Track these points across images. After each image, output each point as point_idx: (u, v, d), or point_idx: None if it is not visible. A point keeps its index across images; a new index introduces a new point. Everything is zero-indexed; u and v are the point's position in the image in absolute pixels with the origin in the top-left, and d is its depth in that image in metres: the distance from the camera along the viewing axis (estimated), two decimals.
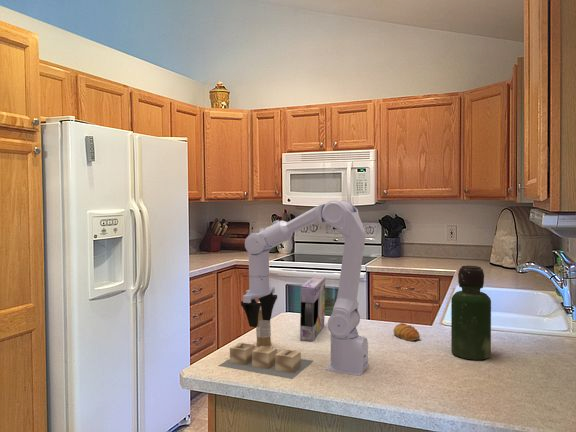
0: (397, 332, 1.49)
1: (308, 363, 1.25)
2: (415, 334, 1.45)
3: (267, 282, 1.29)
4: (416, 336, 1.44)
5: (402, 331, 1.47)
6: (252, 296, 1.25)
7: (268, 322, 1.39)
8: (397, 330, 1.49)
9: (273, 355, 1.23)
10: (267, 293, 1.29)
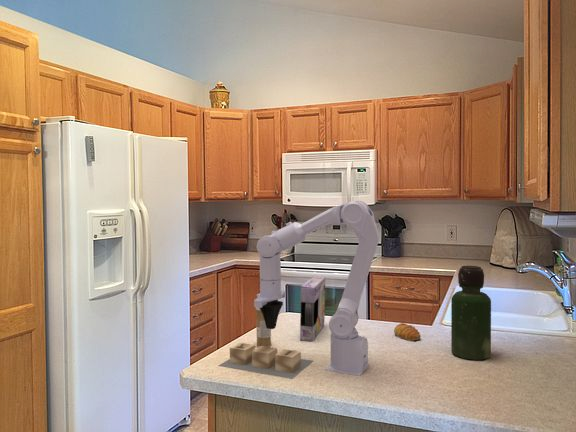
0: (398, 332, 1.49)
1: (308, 363, 1.25)
2: (416, 334, 1.45)
3: (279, 286, 1.25)
4: (417, 336, 1.45)
5: (403, 331, 1.47)
6: (263, 300, 1.21)
7: None
8: (398, 330, 1.49)
9: (273, 355, 1.23)
10: (278, 297, 1.25)
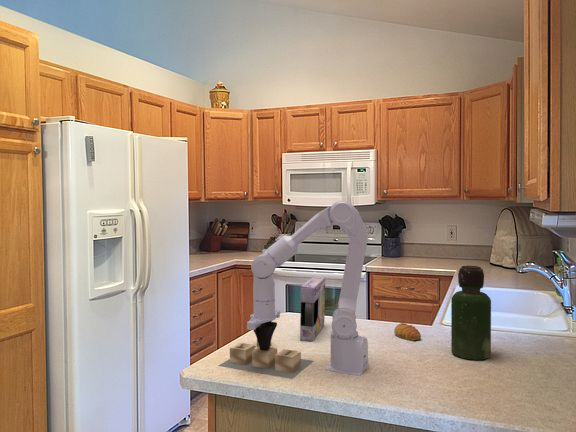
0: (398, 332, 1.49)
1: (308, 363, 1.25)
2: (416, 334, 1.45)
3: (272, 307, 1.22)
4: (417, 336, 1.45)
5: (403, 331, 1.48)
6: (257, 323, 1.18)
7: None
8: (398, 330, 1.49)
9: (273, 355, 1.23)
10: (272, 319, 1.22)
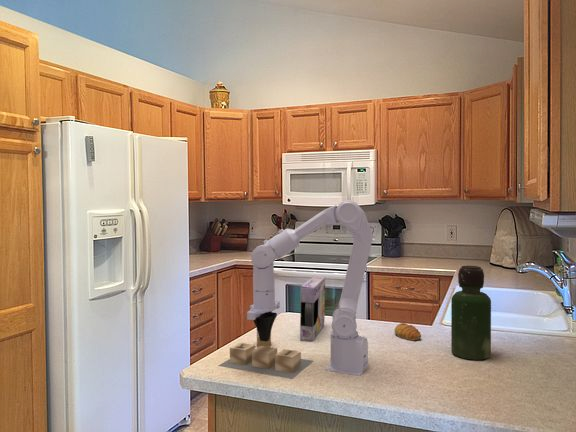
0: (398, 332, 1.49)
1: (308, 363, 1.25)
2: (416, 334, 1.45)
3: (272, 297, 1.22)
4: (418, 336, 1.45)
5: (404, 331, 1.48)
6: (257, 313, 1.18)
7: None
8: (398, 330, 1.49)
9: (273, 355, 1.23)
10: (272, 309, 1.22)
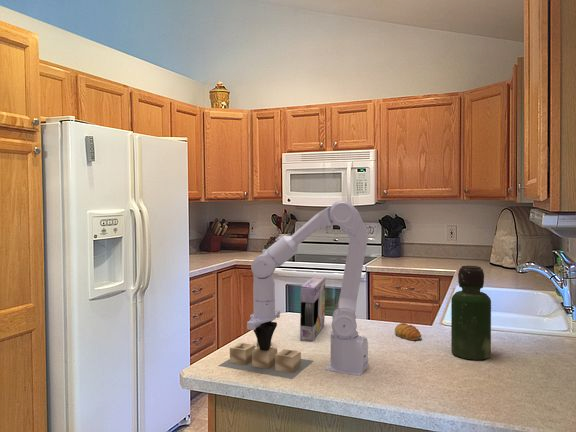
0: (398, 332, 1.49)
1: (308, 363, 1.25)
2: (417, 334, 1.45)
3: (272, 307, 1.22)
4: (418, 336, 1.45)
5: (404, 330, 1.48)
6: (257, 323, 1.18)
7: None
8: (398, 330, 1.49)
9: (273, 355, 1.23)
10: (272, 319, 1.22)
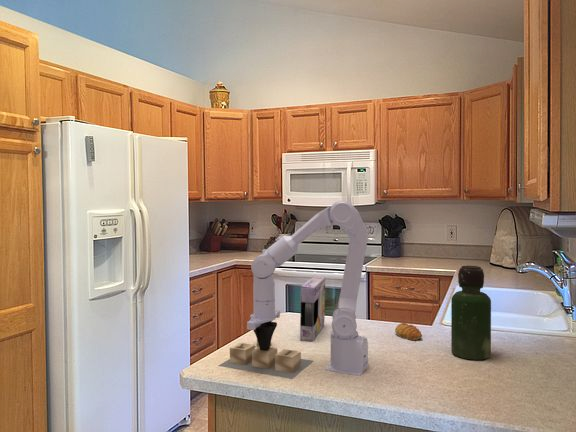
0: (399, 332, 1.49)
1: (308, 363, 1.25)
2: (417, 333, 1.46)
3: (272, 307, 1.22)
4: (419, 335, 1.45)
5: (405, 330, 1.48)
6: (257, 323, 1.18)
7: None
8: (399, 330, 1.50)
9: (273, 355, 1.23)
10: (272, 319, 1.22)
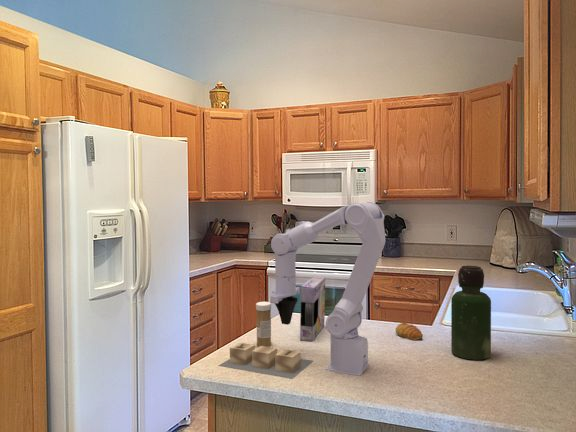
0: (400, 332, 1.49)
1: (308, 363, 1.25)
2: (418, 333, 1.46)
3: (294, 283, 1.29)
4: (419, 335, 1.45)
5: (405, 330, 1.48)
6: (279, 297, 1.25)
7: (269, 323, 1.39)
8: (400, 330, 1.50)
9: (273, 355, 1.23)
10: (294, 294, 1.29)
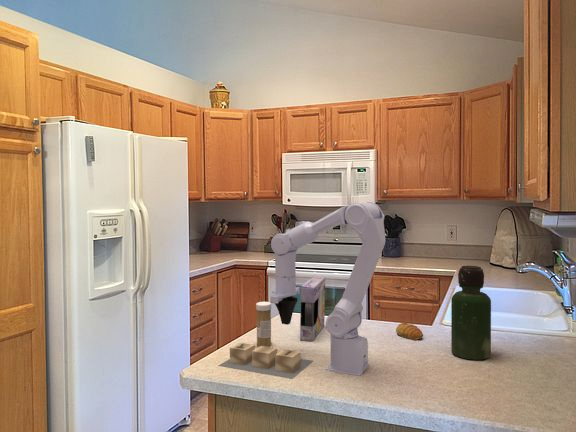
0: (400, 331, 1.49)
1: (308, 363, 1.25)
2: (419, 333, 1.46)
3: (294, 283, 1.29)
4: (420, 335, 1.46)
5: (406, 330, 1.48)
6: (279, 297, 1.25)
7: (269, 323, 1.39)
8: (400, 329, 1.50)
9: (273, 355, 1.23)
10: (294, 294, 1.29)
